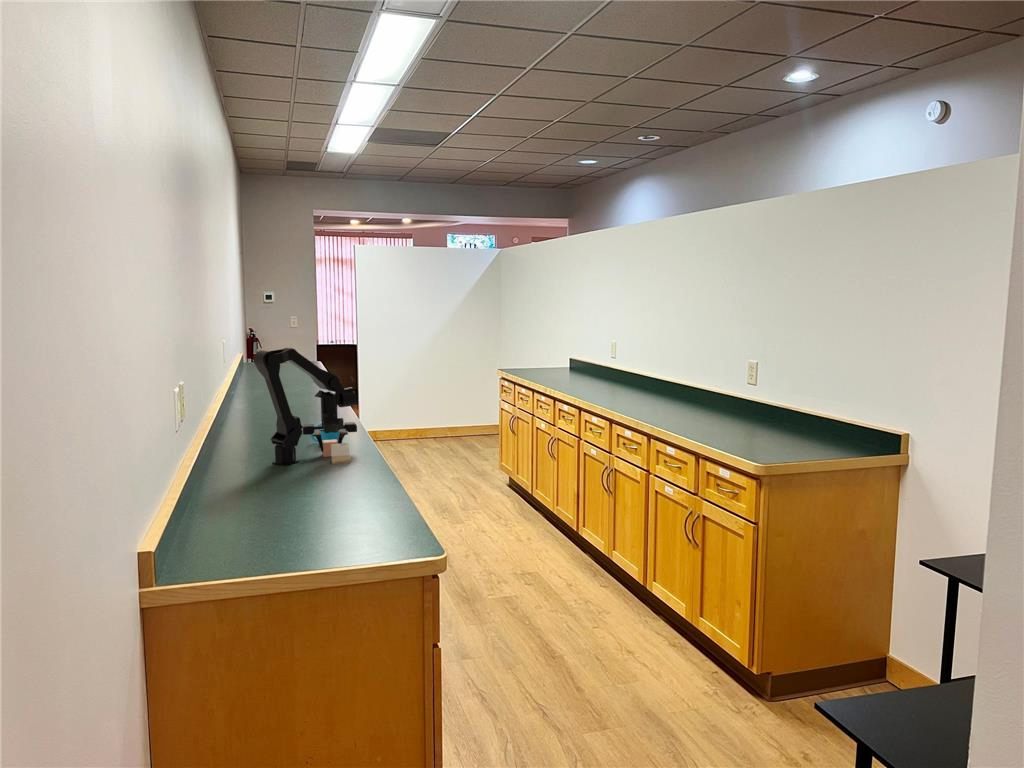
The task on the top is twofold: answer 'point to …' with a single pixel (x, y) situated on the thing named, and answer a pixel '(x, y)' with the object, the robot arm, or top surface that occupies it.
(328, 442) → the coral cube
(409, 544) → the top surface
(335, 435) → the mug
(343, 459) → the slab lower
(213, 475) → the top surface
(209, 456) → the top surface
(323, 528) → the top surface
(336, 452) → the slab upper
